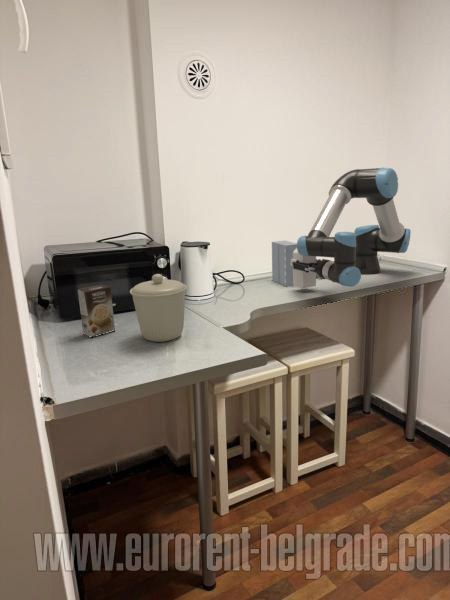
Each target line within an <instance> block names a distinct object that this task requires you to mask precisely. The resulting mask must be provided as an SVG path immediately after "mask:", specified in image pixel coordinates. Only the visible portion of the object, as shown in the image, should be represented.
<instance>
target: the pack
mask: <svg viewBox="0 0 450 600" xmlns="http://www.w3.org/2000/svg"><path fill="white" fill-rule="evenodd" d="M296 248H297V242H292V241H289V240H277V241H271V271H272V272H271V273H272V274H271V275H272V279H271V280H272V281H273V282H274V283H277V284H279V285H280V286H284V287H285V288H286V287H292V286H293V266H291V259H293V251H294V250H295V249H296ZM293 287H294V286H293Z"/></svg>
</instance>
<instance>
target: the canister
mask: <svg viewBox="0 0 450 600" xmlns="http://www.w3.org/2000/svg"><path fill="white" fill-rule="evenodd" d="M187 289H188V286H187V284H186V283H182V282H181V281H179V280H175V279H164V276H163V275H162V274H161V273H156V274H153V275H152V276H151V280H148V281H143V282H140V283H137V284H136V285H134V287H131V288H130V290H129V293H130V294H129V295H131V296H132V300H133V305H134V308H135V313H136V318H137V322H138V326H139V330H140V333H141V335H142V337H143V338H144V339H145V340H147V341H149V342H158V343H160V342H161V343H162V342H163V343H165V342H169V341H173V340H175V339H177V338H179V337H181V335H182V334H183V330H184V326H185V325H184V324H185V306H186V305H185V304H186V303H185V302H186V301H185V300H186V290H187Z"/></svg>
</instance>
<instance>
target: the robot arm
mask: <svg viewBox="0 0 450 600" xmlns="http://www.w3.org/2000/svg"><path fill="white" fill-rule="evenodd" d="M398 181H399V178H398V174H397V172H396V171H395V170H394V169H393V168H390V167H378V168H377V167H376V168H362V169H361V168H357V169H356V168H355V169H353V170H349V171H347V172H346V173H344V174H343V175H341V176H339V178H338V179H336V180H335V182H334V183H333V184H332V185H331V186H330V188H329V191H328V198H327V199H326V201H325V203H324V205H323V207H322V209H321V211H320V212H319V214H318V216H317V218H316V220H315V221H314V223H313V226H312V227H311V229H310V230H309V233H308V234H307V235H301V236H299V237H298V239H297V242H296V243H297V250H298V253H299V254H300V255H305V256H316V257H318V258H319V257H320V258H322V259H320V258H319V259H317V258H316V263H302V262H300V261H299V260H294V259H291V266H293V269H296V270H301V271H305V272H307V273H308V272H309V271H312V272H315V273H317V274H318V276H320V277H321V278H324V279H325V280H327V281H331V282H332V283H336V284H339V285H341V286H343V287H344V286H345V287H351V288H352V287H355V286H357V285H358V284H359V283H360V281H361V279H362V275H373V274H379V273H380V272H381V266H380V261H379V258H378V252H379V253H391V254H392V253H393V254H394V253H395V254H396V253H397V254H404V253H406V252H407V251H408V249H409V245H410V241H411V233H412V232H411V231H412V230H411V229H410V228H405V226H404V225H403V224H402V223H401V222H400V220H399V216H398V212H397V208H396V205H395V201H394V198H395V196H396V195H397V193H398V190H399V182H398ZM351 199H366V201H367V203H368V204H369V205H371V206H372V208H373V212H374V214H375V217H376V221H377V223H378V224H370V225H363V226H358V227H356V228H355V229H354V232H353V231H338V232H335V234H334V236H331V233H332V231H333V230H334V227H335V226H336V224H337V222H338V220H339V217H340V216H341V214H342V211H343V210H344V208H345V206H346V205H348V204H349V203H350V201H351ZM326 258H333V260H330V259H326ZM324 279H323V280H324Z"/></svg>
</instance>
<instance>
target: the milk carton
mask: <svg viewBox="0 0 450 600" xmlns="http://www.w3.org/2000/svg"><path fill="white" fill-rule="evenodd" d="M293 259H294V260H299V261H300V262H302V263H316V259H317V256H305V255H300V254H299V253H298V250H297V248H296V249H295V250H294V251H293ZM316 286H317V277H316V273H315V272H312V271H309V272H308V273H307V272H305V271H301V270H296V269H293V287H297V288H299V289H300V288H301V289H307V288H312V287H316Z"/></svg>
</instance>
